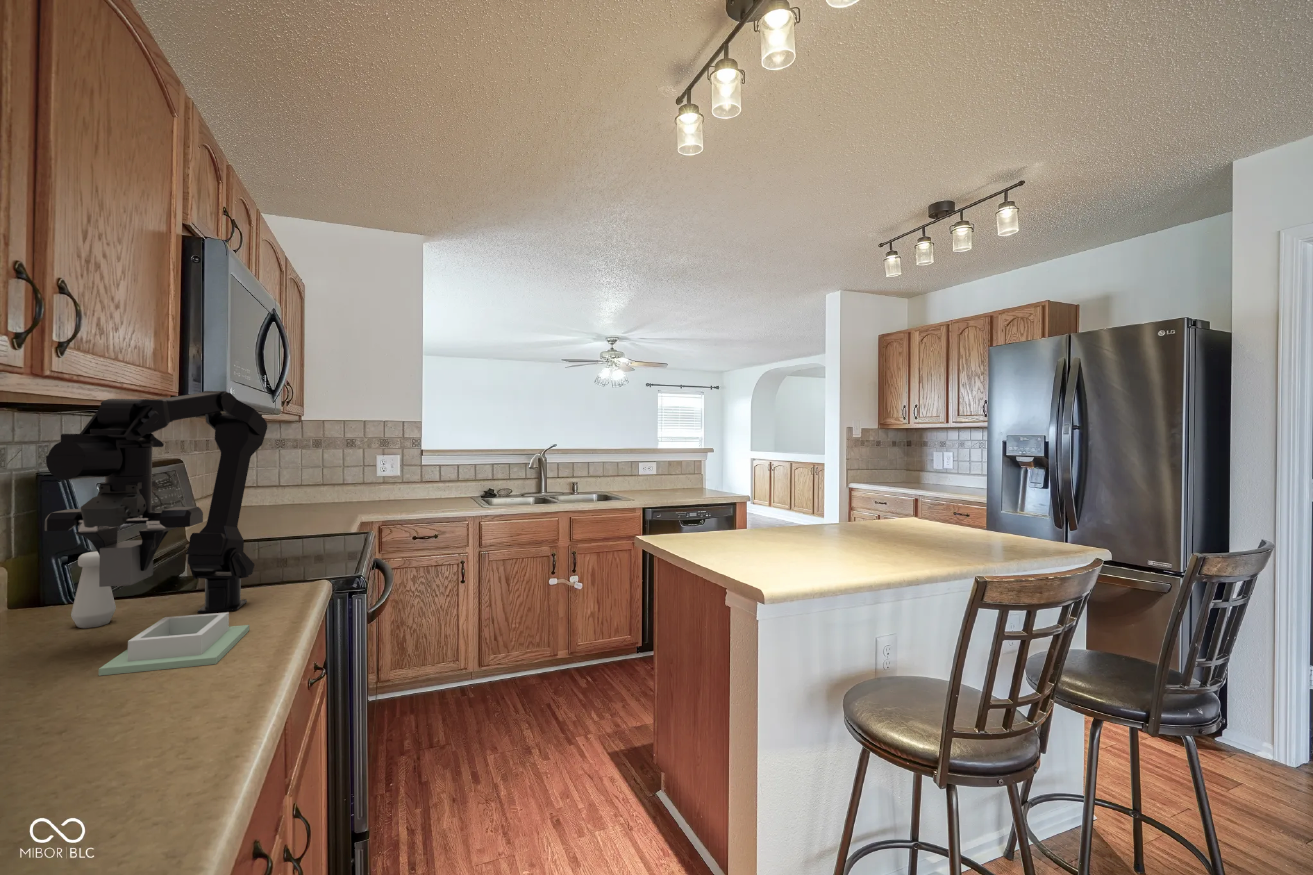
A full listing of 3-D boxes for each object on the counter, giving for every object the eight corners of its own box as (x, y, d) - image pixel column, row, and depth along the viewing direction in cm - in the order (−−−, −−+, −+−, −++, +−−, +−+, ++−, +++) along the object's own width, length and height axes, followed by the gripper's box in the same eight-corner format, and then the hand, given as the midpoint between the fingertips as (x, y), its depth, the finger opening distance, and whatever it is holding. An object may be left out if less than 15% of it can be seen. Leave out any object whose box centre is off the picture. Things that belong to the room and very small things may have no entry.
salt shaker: (65, 626, 104) (66, 553, 104) (107, 617, 109) (108, 548, 109) (79, 631, 102) (80, 556, 102) (121, 622, 107) (122, 551, 107)
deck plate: (151, 638, 99) (151, 615, 99) (249, 630, 103) (249, 607, 103) (98, 675, 84) (98, 647, 84) (216, 663, 88) (216, 637, 88)
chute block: (123, 576, 98) (124, 540, 98) (152, 575, 100) (153, 539, 100) (99, 586, 92) (99, 548, 92) (130, 585, 93) (131, 547, 93)
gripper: (19, 479, 85) (18, 587, 85) (174, 478, 91) (173, 579, 91) (68, 474, 96) (67, 570, 96) (204, 474, 101) (203, 564, 101)
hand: (127, 571), depth 96 cm, fingers closed on chute block, 4 cm apart
